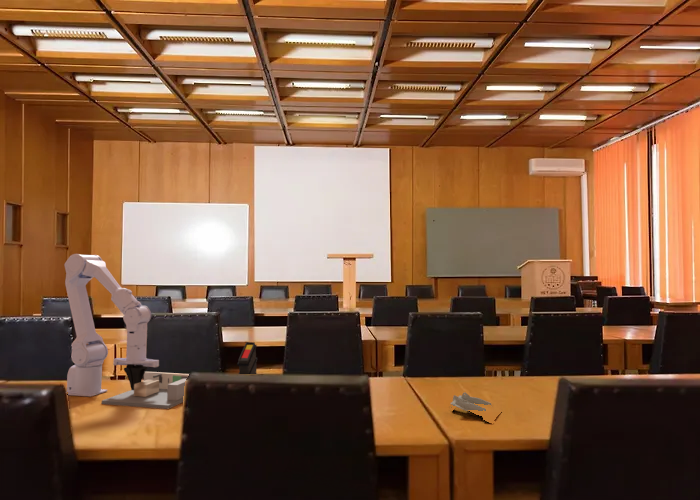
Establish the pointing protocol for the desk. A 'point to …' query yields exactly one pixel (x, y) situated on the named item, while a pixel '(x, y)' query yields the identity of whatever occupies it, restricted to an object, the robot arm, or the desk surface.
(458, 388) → the desk surface
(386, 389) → the desk surface
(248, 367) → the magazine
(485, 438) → the desk surface
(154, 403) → the gauge board
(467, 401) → the grey angular piece
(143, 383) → the block
